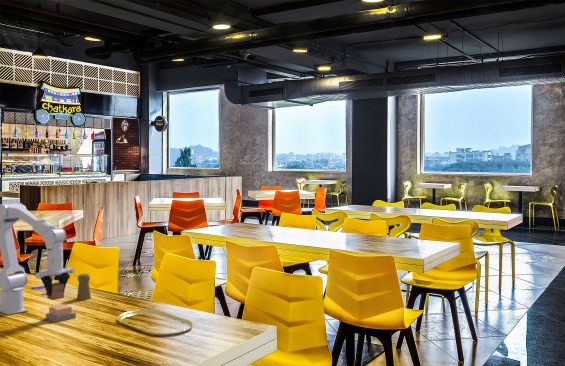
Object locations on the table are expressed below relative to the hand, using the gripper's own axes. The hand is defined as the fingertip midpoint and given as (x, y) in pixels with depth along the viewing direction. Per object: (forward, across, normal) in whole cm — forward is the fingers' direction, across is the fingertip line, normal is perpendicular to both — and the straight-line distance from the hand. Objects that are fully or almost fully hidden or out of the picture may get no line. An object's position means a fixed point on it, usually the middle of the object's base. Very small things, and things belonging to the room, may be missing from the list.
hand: (55, 293), depth 210 cm
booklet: (+10, +21, +43) cm, 49 cm away
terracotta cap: (+8, +1, -2) cm, 8 cm away
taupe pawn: (+10, +23, +20) cm, 32 cm away
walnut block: (+2, 0, 0) cm, 2 cm away
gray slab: (+10, +1, -1) cm, 10 cm away
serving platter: (+10, +21, -34) cm, 42 cm away
